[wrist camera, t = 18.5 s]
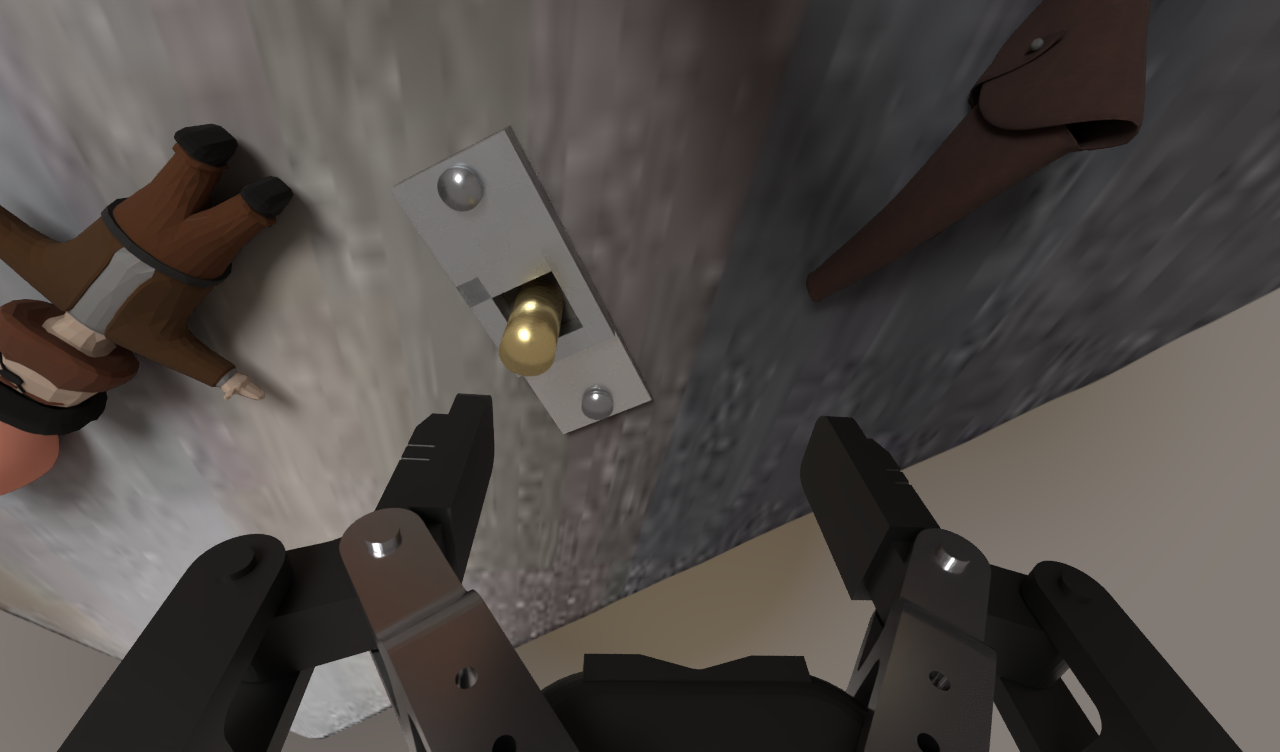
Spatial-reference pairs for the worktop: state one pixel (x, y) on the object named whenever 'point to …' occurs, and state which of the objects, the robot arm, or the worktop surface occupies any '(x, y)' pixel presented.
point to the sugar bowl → (24, 457)
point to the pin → (532, 329)
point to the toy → (126, 289)
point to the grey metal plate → (522, 271)
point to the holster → (1015, 126)
